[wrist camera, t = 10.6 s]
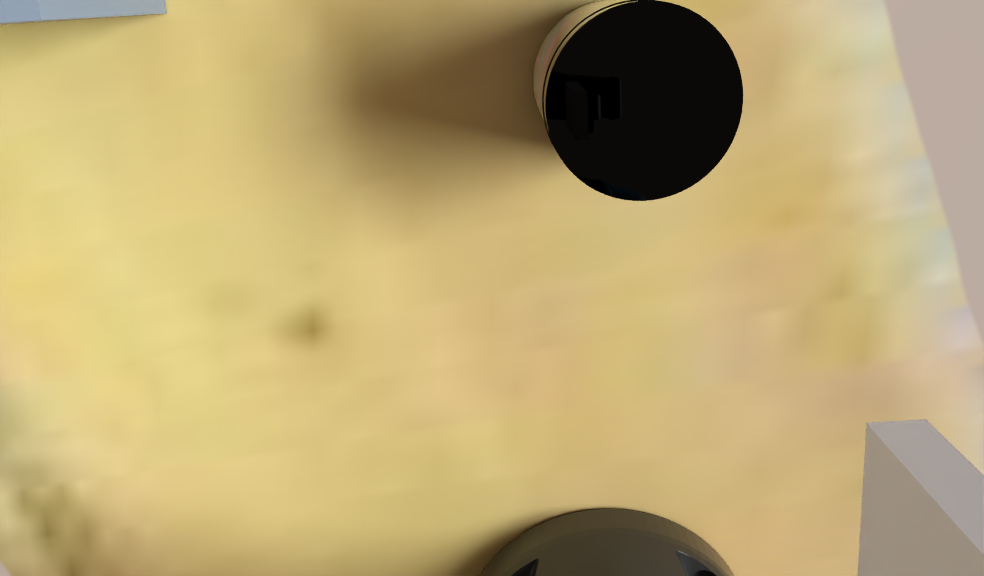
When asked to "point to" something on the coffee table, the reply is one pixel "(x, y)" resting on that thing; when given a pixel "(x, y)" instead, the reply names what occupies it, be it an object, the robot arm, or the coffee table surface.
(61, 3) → the coin box
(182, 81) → the coffee table surface
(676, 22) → the supplement container
